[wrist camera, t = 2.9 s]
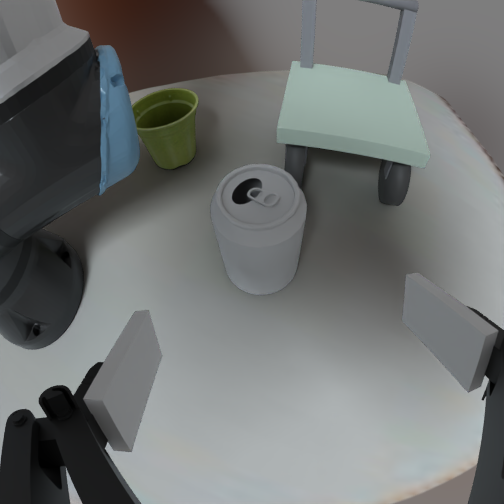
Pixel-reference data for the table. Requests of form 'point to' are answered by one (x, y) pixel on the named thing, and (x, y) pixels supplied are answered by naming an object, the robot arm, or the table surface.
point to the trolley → (354, 109)
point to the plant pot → (168, 125)
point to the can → (259, 226)
